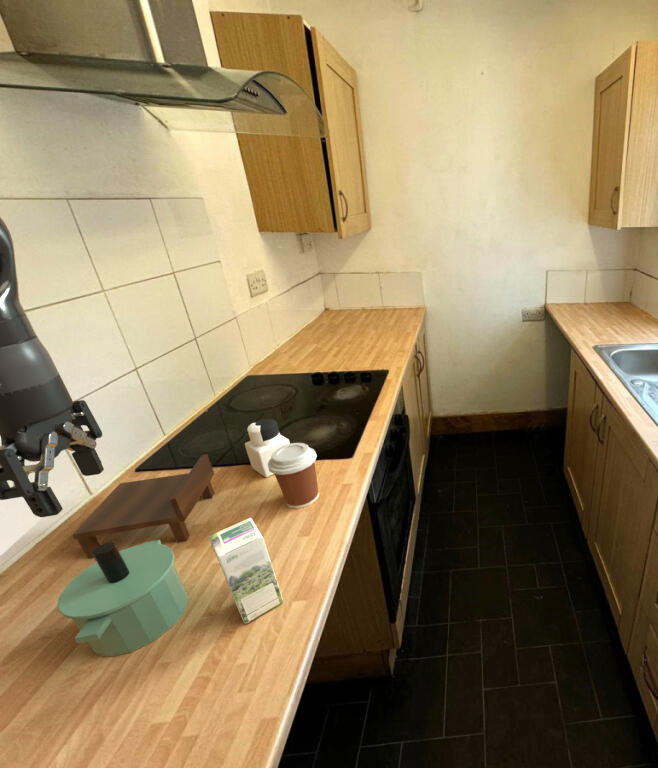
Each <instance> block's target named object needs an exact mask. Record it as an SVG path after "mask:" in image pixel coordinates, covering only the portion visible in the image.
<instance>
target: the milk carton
mask: <svg viewBox="0 0 658 768" xmlns="http://www.w3.org/2000/svg"><path fill="white" fill-rule="evenodd" d="M208 538H209V541H210V544H211V546H212V548H213V550H214V553H215V556H216V558H217V561H218V563H219V566H220V567H221V568H220V569H221V571H222V573H223V576H224V579H225V581H226V584H227V586H228V588H229V591H230V593H231V596H232V598H233V601H234V604H235V605H236V608H237V609H238V613H239V615H240V617H241V619H242V621H243V624H244V625H248V624H249V623H251V622H253V621H254V620H257V619H258V618H260V617H261V616H263V615H265V614H266V613H268V612H270V611H271V610H273V609H276V608H277V607H278V606H280V605H282V604H283V603H284V597H283V595H282V591H281V589H280V585H279V582H278V580H277V577H276V574H275V573H276V572H275V571H274V567H273V564H272V561H271V557H270V555H269V551H268V549H267V546H266V542H265V539H264V536H263V535H262V533H261V532H260V530H259V529H258V527H257V525H256V524H255V522H254V520H253V518H252V517H248V518H246V519H244V520H241V521H240V522H237V523H235V524H233V525H231V526H228V527H226V528H224V529H221V530H219V531H217V532H215V533H212V534H211V535H208Z"/></svg>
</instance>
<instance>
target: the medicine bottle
mask: <svg viewBox="0 0 658 768" xmlns="http://www.w3.org/2000/svg"><path fill="white" fill-rule="evenodd" d="M278 426H279V425H278V423H277V421H276V420H275V419H272V418H263V419H259V420H255V421H253V422H251V423H250V424H248V426H247V428H246V429H247V434H248V437H249V441H247V442H245V443H244V447H245V450H246V453H247V457H248V459H249V462H250V466H251V469H253V470H254V471H256V472H257V473H259V474H260V475H261V476H262V477H264V478H269V477H271V476H273V475H275V474H274V473H272V472H270V471H269V468H268V465H267V464H268V462H269V460H270V459H271V456H272V454H273V452H274V451H276V450H277V449H278V448H280V447H282V446H284V445H288V444H291V442H290V439H289V438H287V437H285V436H284V435H282V434H281V432H280V430H279V427H278Z"/></svg>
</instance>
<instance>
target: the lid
mask: <svg viewBox="0 0 658 768" xmlns="http://www.w3.org/2000/svg"><path fill="white" fill-rule="evenodd" d="M92 555H93V556H94V558H93V559H94V560H95V562H94V563H92V564H91V565H89V566H88V567H86V568H85V569H84V570H82V571H81V572H80V573H78V574H77V575H76V576H75V577H73V579H71V580H70V582H68V584H67V585H66V586H65V587H64V588H63V590H62V591H61V592H60V595H59V597H58V599H57V610H58V611H59V613H60V614H61V615H62V616H63V617H65V618H67V619H69V620H72V619H77V620H81V619H90V618H95V617H99V616H103V615H106V614H109V613H111V612H114V611H116V610H119V609H121V608H123V607H125V606H127V605H129V604H131V603H133V602H135V601H136V600H138V599H140V598H141V597H143V596H144V595H146V594H147V593H148V592H150V591H151V590H152V589H154V588H155V587H156V586H157V585H158V584H159V583H160V582H161V581H162V580H163V579H164V578H165V577H166V576H167V575H168V573H169V572H170V570H171V568H172V566H173V564H174V565H175V559H176V557H175V554H174V551H173V549H172V548H171V547H169V546H168V545H166V544H163V543H162V544H155V543H152V544H143V545H142V544H138V545H134V546H130V547H127V548H124V549H120V550H119V549H118V547H117V545H116V543H115V542H114V541H106V542H103V543H102V544H101V543H100V545H99V546H98V547H96V548H95V549H94V550H93V551H92Z"/></svg>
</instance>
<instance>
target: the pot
mask: <svg viewBox="0 0 658 768" xmlns="http://www.w3.org/2000/svg"><path fill="white" fill-rule="evenodd" d="M152 543H155V544H163V543H162V541H161V539H156V540H149V541H145V542H142V543H141V545H143V544H152ZM188 603H189V595H188V592H187V589H186V587H185V584H184V583H183V581H182V579H181V576H180V574H179V572H178V570H177V568H176V566H175V563H174V564H173V566H172V568H171V570H170V572H169V573H168V575H167V576H166V577H165V578H164V579H163V580H162V581H161V582H160V583H159V584H158V585H157V586H156V587H155V588H154V589H152V590H151V591H150V592H148V593H147V594H146V595H144V596H143V597H141V598H140V599H138V600H136V601H135V602H133V603H131V604H129V605H127V606H125V607H123V608H121V609H119V610H116V611H114V612H111V613H109V614H106V615H103V616H99V617H95V618H90V619H81V620H77V619H71V620H72V621H73V623H74V624H75V626H76V628H77V629H78V633H77V634H76V636H75V637H74V640H75V642H76V643H77V644H82V643H87V644H88V646H89V647H90V648H91V649H92V651H93V652H94V653H95V654H96V655H98V656H102V657H117V656H122V655H126V654H129V653H131V652H135V651H137V650H139V649H141V648H144V647H145V646H147V645H149V644H151V643H152V642H154V641H156V640H157V639H159V638H160V637H161V636H163V635H164V634H166V633H167V632H168V631H169V630H170V629H171V628H172V627H173V626H174V625H175V624H176V623H177V622H178V621H179V619H181V617H182V615H183V614H184V612H185V611H186V610H187V609H186V608H187V606H188Z"/></svg>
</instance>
